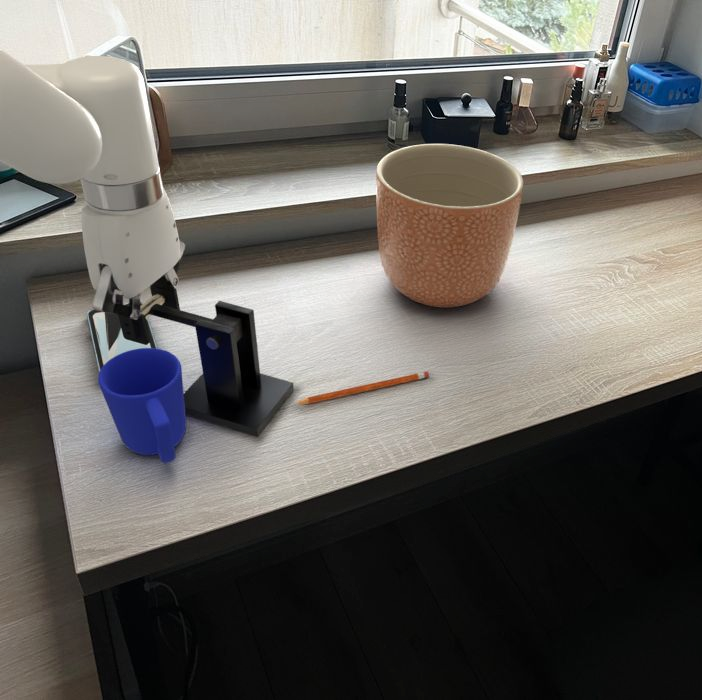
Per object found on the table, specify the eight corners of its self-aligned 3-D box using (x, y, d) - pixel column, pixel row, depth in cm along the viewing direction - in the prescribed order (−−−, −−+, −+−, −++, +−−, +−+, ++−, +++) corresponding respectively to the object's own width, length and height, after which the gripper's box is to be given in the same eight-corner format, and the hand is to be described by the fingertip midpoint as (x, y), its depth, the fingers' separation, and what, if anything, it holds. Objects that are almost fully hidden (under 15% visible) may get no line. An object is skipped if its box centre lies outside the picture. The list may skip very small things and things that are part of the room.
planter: (364, 254, 118) (366, 143, 107) (485, 248, 124) (500, 142, 112) (385, 330, 103) (390, 210, 91) (523, 320, 108) (544, 205, 97)
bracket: (174, 411, 86) (156, 326, 79) (216, 367, 93) (203, 284, 85) (257, 436, 85) (248, 352, 77) (293, 389, 92) (288, 307, 84)
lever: (131, 326, 83) (127, 309, 81) (158, 303, 87) (154, 286, 85) (226, 353, 81) (224, 336, 79) (249, 328, 85) (247, 312, 83)
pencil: (429, 378, 96) (429, 374, 95) (295, 407, 89) (294, 403, 88) (426, 374, 96) (427, 370, 96) (293, 403, 89) (293, 399, 89)
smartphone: (99, 379, 88) (85, 310, 98) (101, 385, 89) (86, 315, 99) (163, 365, 91) (143, 299, 101) (164, 371, 92) (144, 305, 102)
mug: (136, 498, 76) (117, 431, 70) (109, 426, 84) (89, 360, 77) (214, 470, 80) (202, 404, 74) (181, 404, 88) (168, 339, 81)
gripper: (143, 148, 82) (168, 283, 93) (29, 213, 68) (75, 361, 80) (202, 162, 80) (221, 297, 92) (98, 231, 67) (134, 378, 78)
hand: (152, 325), depth 85 cm, fingers open, 5 cm apart
